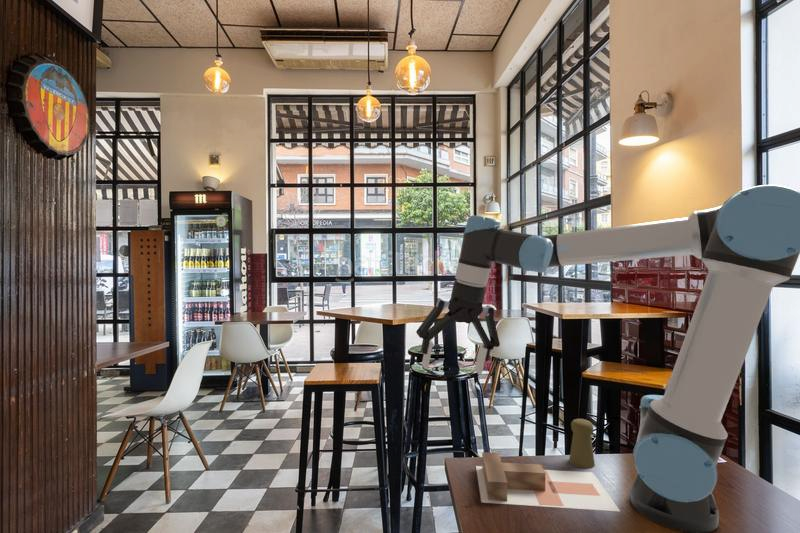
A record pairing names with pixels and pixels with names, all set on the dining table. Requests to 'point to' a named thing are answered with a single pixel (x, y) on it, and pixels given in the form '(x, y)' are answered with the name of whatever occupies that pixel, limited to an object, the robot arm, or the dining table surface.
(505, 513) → the dining table surface
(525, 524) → the dining table surface
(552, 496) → the mat
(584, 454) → the olive pepper mill
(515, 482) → the t block
